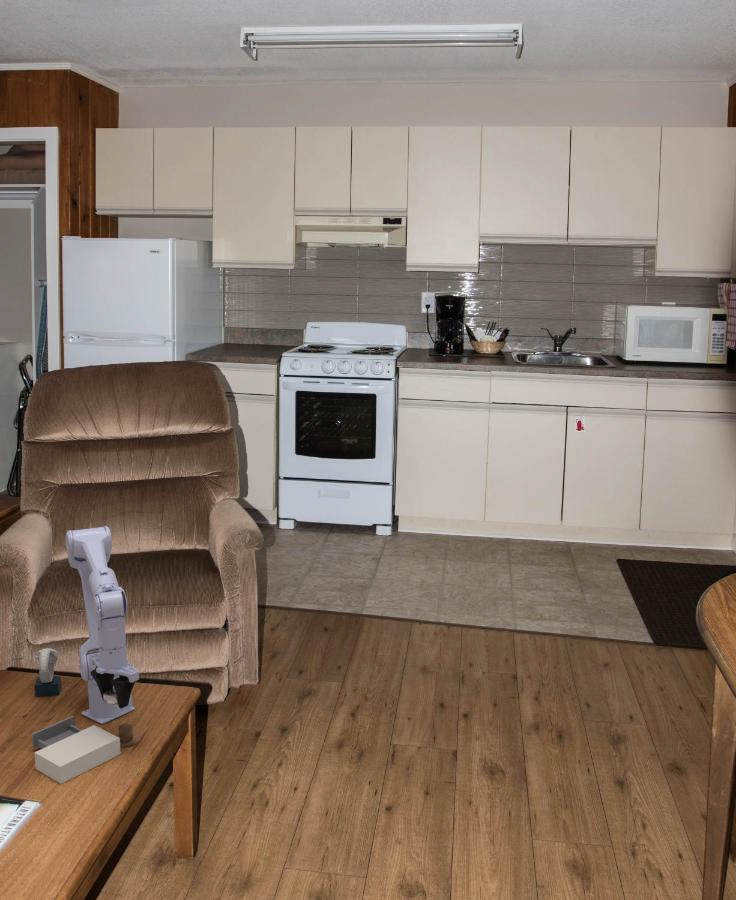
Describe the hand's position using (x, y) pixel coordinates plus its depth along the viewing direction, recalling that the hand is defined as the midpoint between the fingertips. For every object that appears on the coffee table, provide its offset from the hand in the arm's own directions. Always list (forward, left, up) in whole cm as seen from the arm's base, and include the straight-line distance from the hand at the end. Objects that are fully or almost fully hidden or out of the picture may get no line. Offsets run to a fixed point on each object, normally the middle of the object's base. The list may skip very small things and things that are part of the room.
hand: (115, 702), depth 208 cm
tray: (+9, -7, -9) cm, 14 cm away
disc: (0, 0, +1) cm, 1 cm away
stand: (-1, +1, -9) cm, 10 cm away
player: (+10, 0, -9) cm, 14 cm away
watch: (-4, -33, -10) cm, 35 cm away
